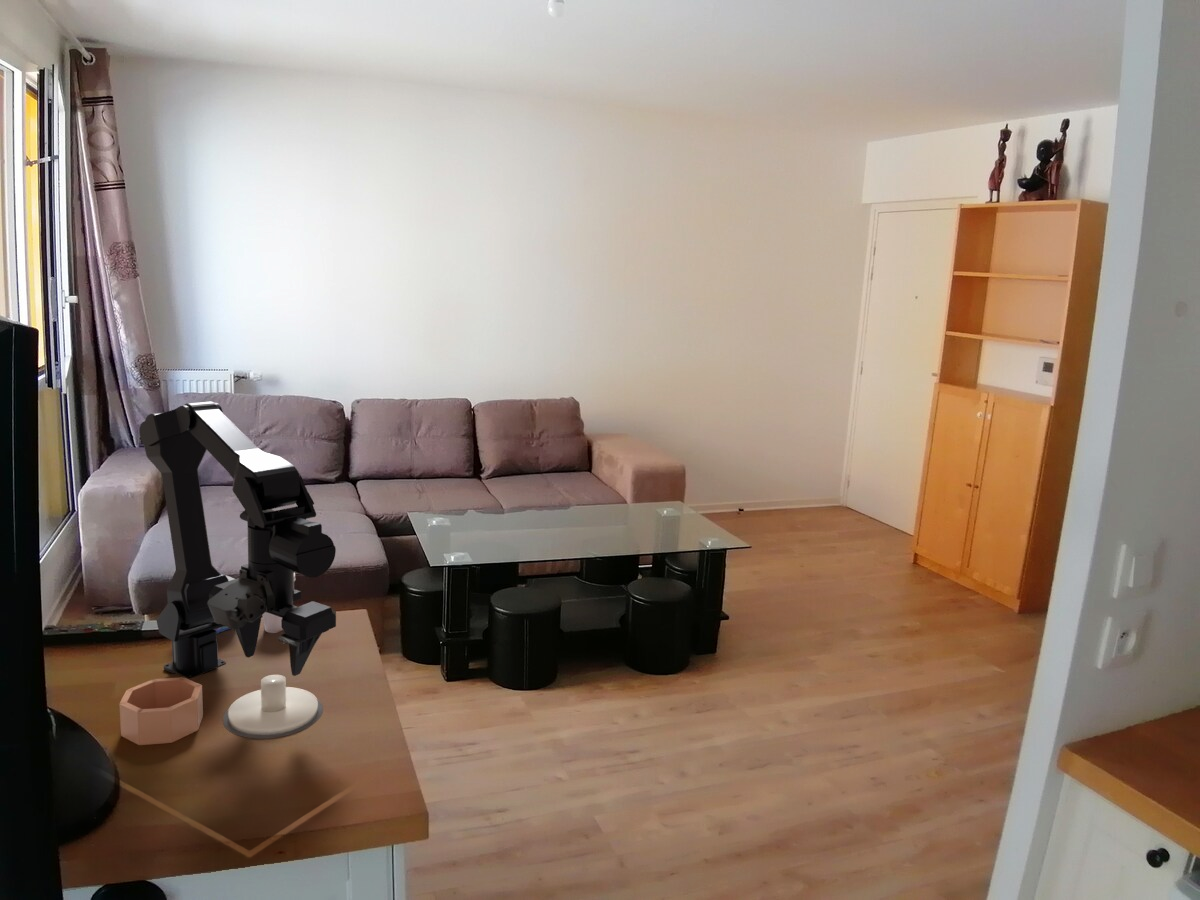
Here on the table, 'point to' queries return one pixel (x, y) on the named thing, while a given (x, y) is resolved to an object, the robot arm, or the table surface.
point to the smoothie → (272, 621)
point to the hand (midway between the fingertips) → (272, 665)
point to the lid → (273, 708)
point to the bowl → (161, 711)
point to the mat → (231, 729)
